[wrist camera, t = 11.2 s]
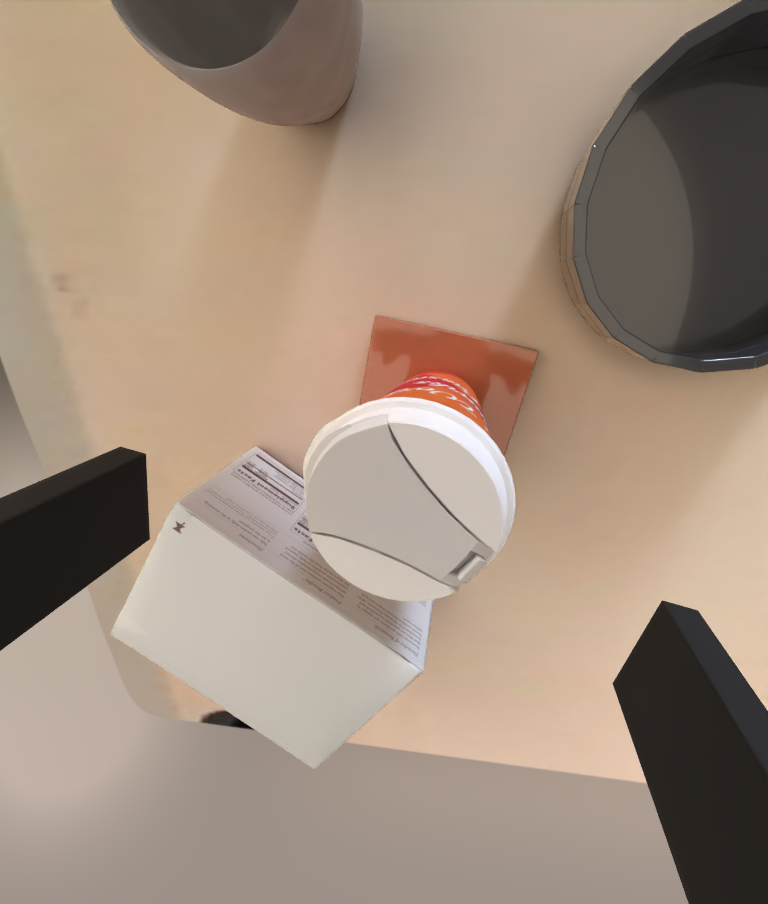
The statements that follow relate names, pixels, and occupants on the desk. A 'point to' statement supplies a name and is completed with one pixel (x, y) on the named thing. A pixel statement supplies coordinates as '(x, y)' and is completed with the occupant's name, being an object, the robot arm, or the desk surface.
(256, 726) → the supplement box
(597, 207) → the pan
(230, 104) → the mug
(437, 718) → the desk surface
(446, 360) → the coaster
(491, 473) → the paper cup
